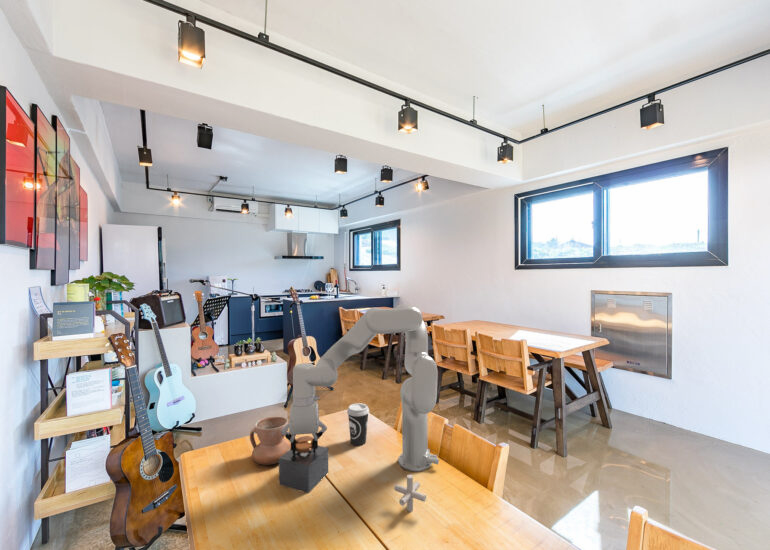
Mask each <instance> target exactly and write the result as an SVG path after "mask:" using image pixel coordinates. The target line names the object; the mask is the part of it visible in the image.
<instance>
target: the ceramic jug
mask: <svg viewBox="0 0 770 550" xmlns="http://www.w3.org/2000/svg"><path fill="white" fill-rule="evenodd" d="M288 423H289V419H288V418H287V417H284V416H269V417H263V418H261V419H258V420H257V421H256V423H255V424H254V427H253V428H252V429H251V430H250V432H249V441H250V443H251V445H252V448H253V450H252V451H251V452H252V453H251V456H252V460H253V461H254V462H255V463H257V464H259V465H264V466H265V465H266V466H269V465H272V466H273V465H275V464H276V465H277V464H279V458H280V457H281V456H282V455H284V454H285V453H286V452H288V451H289V450H290V449H291V443H290V441H289V440H288V439H284V438H285V436H284V435H283V434H282V433H281V430H282V429H283V428H284V427H285V426H286V425H287V424H288ZM287 432H289V430H287ZM255 434H256V436H257V438H258V440H259V442H260V443H258V444H257V443H256V440H255Z"/></svg>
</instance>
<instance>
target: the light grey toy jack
mask: <svg viewBox="0 0 770 550" xmlns="http://www.w3.org/2000/svg"><path fill="white" fill-rule="evenodd" d="M420 486H421V484H420V482H419V481H418V480H417V481H414V475H412V474H407V475H406V487H405V486H403V485H400V484H398V483H396V484H395V485H394V487H393V489H394V490H393V491H395V492H398V493H400V494H403V495H402V496H401V498H400V499H399V501H398V503H399V505H400V506H405V505H406V510H407V511H408V512H413V511H414V499H416V500H418V501H420V502H422V503H425V502H426V500H427V495H426V494H423V493H421V492H419V491H417V490H418V489H419V488H420Z"/></svg>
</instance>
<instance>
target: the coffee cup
mask: <svg viewBox="0 0 770 550" xmlns="http://www.w3.org/2000/svg"><path fill="white" fill-rule="evenodd" d="M369 413H370V409H369V406H368V405H367V404H365V403H360V402H359V403H352V404H350V405H349V406H348V408H347V410H346V414H347V415H348V425H349V427H348V428H349V438H350V444H351V445H352V444H353V446H355V445H356V446H355V447H359V446H360V445H361V446H363V444H364V445H365V444H366V443H367V434H368V432H367V431H368V422H369V421H368V420H369Z"/></svg>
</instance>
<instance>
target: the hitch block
mask: <svg viewBox="0 0 770 550" xmlns="http://www.w3.org/2000/svg"><path fill="white" fill-rule="evenodd" d="M327 473H328V474H329V447H326V446H322V445H321V446H320V445H318V449H316V451H315V453H314V452H313V449H312V450H310V451H309V455H308V456H307V457H303V456H300V452H297V451H295V454H293V450H292V451H291V449H290V450H289V451H288V452H286V453H285V454H284V455H282V456H281V457H280V458H279V463H278V485H279V486H282V487H286V488H290V489H293V490H296V491H301V492H304V493H306V494H310V492H312V491H313V490H314V488H315V487H316V486H318V484H319V483H320V482H321V481H322V480H323V479H324V478H325V477H326V476H327V475H328V474H327ZM326 474H327V475H326ZM324 476H325V477H324ZM323 477H324V478H323ZM321 479H322V480H321Z"/></svg>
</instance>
